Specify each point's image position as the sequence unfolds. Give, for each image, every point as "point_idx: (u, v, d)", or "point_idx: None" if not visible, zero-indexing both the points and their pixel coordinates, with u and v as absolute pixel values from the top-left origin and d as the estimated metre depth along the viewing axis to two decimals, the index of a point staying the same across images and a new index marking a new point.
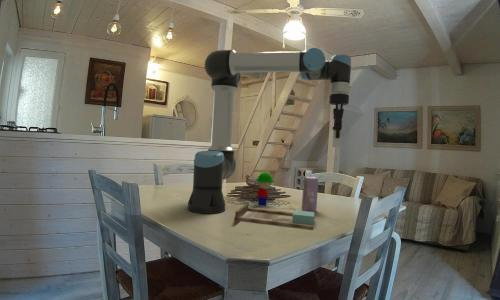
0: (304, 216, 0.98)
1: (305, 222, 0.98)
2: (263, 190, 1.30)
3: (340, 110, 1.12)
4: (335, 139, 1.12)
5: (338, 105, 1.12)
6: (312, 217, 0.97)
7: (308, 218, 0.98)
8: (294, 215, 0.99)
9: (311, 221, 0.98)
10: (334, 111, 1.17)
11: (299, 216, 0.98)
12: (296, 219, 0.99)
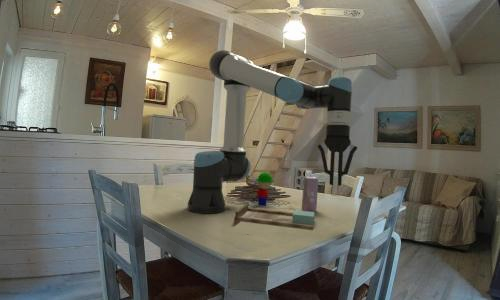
0: (304, 216, 0.98)
1: (305, 222, 0.98)
2: (263, 190, 1.30)
3: None
4: None
5: None
6: (312, 217, 0.97)
7: (308, 218, 0.98)
8: (294, 215, 0.99)
9: (311, 221, 0.98)
10: None
11: (299, 216, 0.98)
12: (296, 219, 0.99)
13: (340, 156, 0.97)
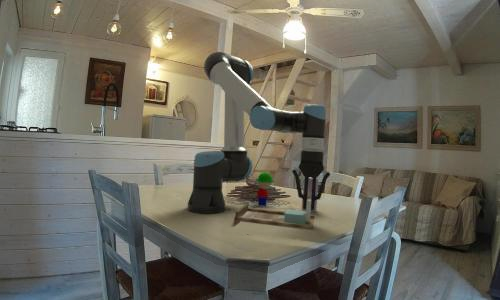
0: (296, 215, 0.99)
1: (296, 221, 0.99)
2: (263, 190, 1.30)
3: None
4: None
5: None
6: (304, 216, 0.98)
7: (300, 217, 0.98)
8: (286, 214, 0.99)
9: (303, 220, 0.98)
10: None
11: (291, 215, 0.99)
12: (288, 218, 0.99)
13: (313, 181, 1.00)
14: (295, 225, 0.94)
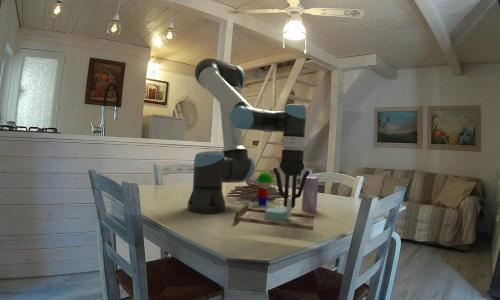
0: (276, 213, 1.00)
1: (277, 219, 1.00)
2: (263, 190, 1.30)
3: None
4: None
5: None
6: (284, 214, 1.00)
7: (280, 215, 1.00)
8: (267, 212, 1.01)
9: (283, 218, 1.00)
10: None
11: (271, 213, 1.01)
12: (269, 216, 1.01)
13: (294, 180, 1.01)
14: (295, 225, 0.94)
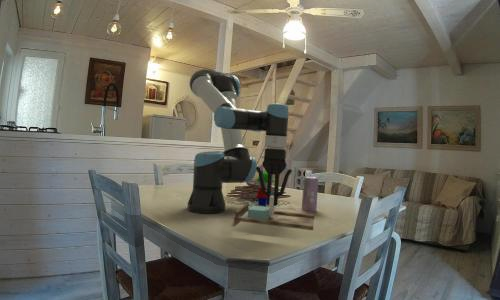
0: (259, 211, 1.02)
1: (259, 217, 1.02)
2: None
3: None
4: None
5: None
6: (266, 212, 1.01)
7: (262, 213, 1.02)
8: (249, 210, 1.03)
9: (265, 216, 1.01)
10: None
11: (254, 211, 1.02)
12: (251, 214, 1.02)
13: (276, 178, 1.03)
14: (295, 225, 0.94)
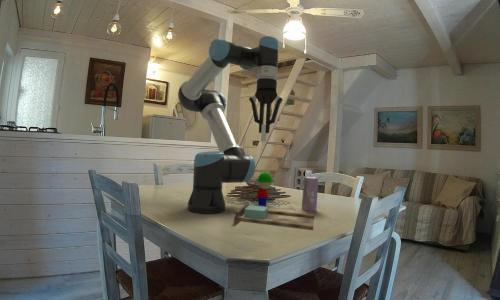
0: (255, 211, 1.02)
1: (256, 216, 1.02)
2: (263, 190, 1.30)
3: None
4: None
5: None
6: (262, 211, 1.01)
7: (259, 212, 1.02)
8: (246, 210, 1.03)
9: (262, 215, 1.01)
10: None
11: (250, 211, 1.02)
12: (248, 213, 1.03)
13: (267, 107, 1.10)
14: (295, 225, 0.94)
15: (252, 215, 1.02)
